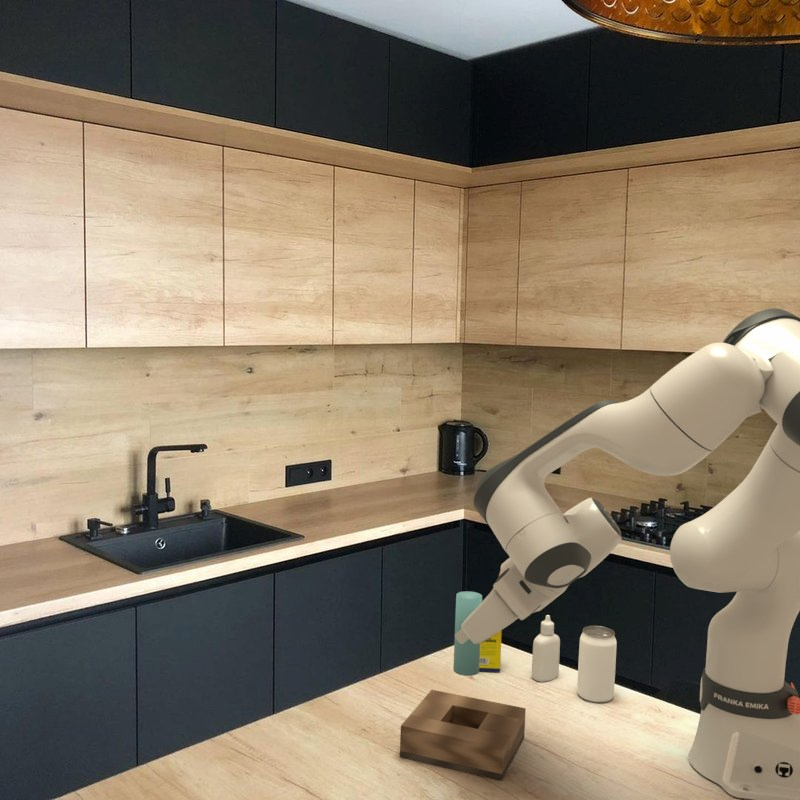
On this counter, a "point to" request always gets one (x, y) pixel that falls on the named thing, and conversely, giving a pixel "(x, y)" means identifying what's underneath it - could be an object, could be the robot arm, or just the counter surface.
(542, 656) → the eye dropper bottle
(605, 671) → the can
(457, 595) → the teal pin
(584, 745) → the counter surface
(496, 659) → the supplement box
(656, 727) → the counter surface
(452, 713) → the walnut holder
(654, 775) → the counter surface
